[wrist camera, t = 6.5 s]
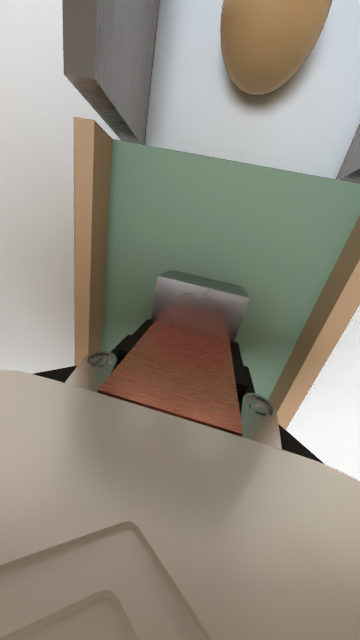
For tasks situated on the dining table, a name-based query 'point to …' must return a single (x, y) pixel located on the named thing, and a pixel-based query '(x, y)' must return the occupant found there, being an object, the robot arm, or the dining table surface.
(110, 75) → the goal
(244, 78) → the ball
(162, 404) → the silver-capped pink block
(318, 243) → the pitch
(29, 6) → the dining table surface
